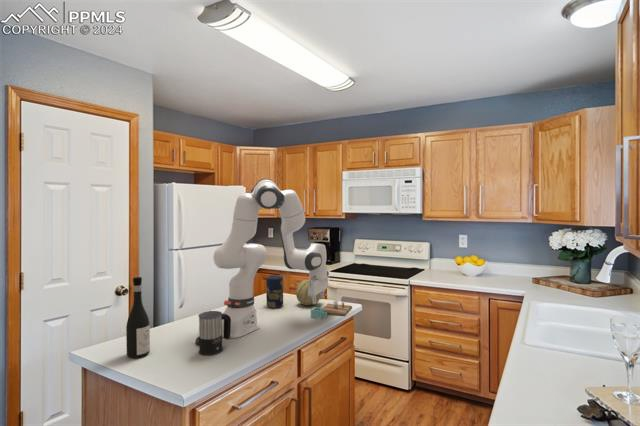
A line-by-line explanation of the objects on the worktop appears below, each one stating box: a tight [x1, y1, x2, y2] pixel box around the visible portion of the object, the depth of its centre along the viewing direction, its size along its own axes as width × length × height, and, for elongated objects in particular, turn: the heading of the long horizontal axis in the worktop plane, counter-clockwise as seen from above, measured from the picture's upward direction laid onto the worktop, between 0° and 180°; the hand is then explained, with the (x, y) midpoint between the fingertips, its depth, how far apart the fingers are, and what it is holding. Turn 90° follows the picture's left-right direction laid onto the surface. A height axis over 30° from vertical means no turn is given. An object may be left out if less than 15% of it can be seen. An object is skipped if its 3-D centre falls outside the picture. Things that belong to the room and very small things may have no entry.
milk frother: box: [194, 310, 231, 356], centre depth 150 cm, size 14×16×15 cm
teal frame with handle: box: [310, 307, 328, 319], centre depth 191 cm, size 8×5×4 cm
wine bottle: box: [125, 276, 151, 359], centre depth 143 cm, size 8×8×30 cm
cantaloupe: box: [295, 278, 320, 307], centre depth 213 cm, size 15×15×15 cm
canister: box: [265, 274, 284, 309], centre depth 210 cm, size 10×10×18 cm
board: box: [322, 300, 353, 317], centre depth 201 cm, size 16×14×5 cm
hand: (317, 301), depth 190 cm, fingers open, 8 cm apart
